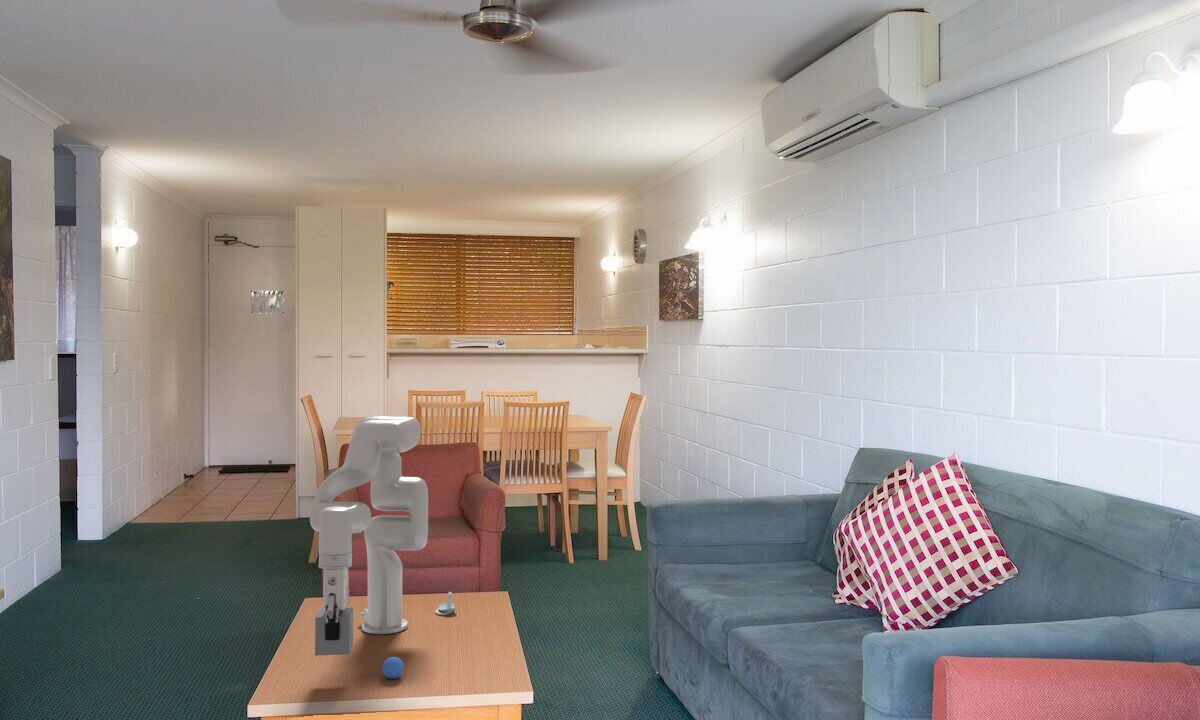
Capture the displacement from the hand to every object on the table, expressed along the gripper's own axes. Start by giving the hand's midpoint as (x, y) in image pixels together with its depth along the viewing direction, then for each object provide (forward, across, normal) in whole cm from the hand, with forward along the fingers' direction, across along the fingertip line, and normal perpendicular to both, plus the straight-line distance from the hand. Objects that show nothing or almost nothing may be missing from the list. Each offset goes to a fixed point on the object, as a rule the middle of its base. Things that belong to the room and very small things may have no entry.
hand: (334, 634), depth 217 cm
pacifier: (+11, +55, -25) cm, 61 cm away
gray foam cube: (+4, 0, 0) cm, 4 cm away
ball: (+9, +1, -14) cm, 16 cm away
